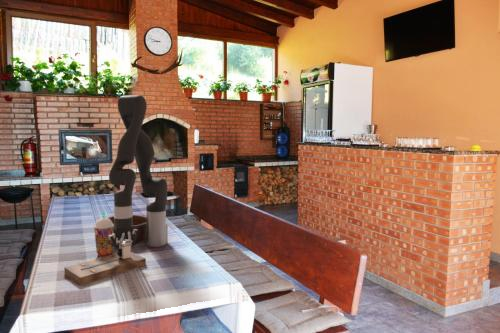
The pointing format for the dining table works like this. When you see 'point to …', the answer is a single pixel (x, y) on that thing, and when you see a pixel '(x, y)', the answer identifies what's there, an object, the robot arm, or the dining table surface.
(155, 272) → the dining table surface
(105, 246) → the smoothie
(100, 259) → the brown flat wooden board
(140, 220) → the wooden bowl
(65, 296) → the dining table surface
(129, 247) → the fader tab
